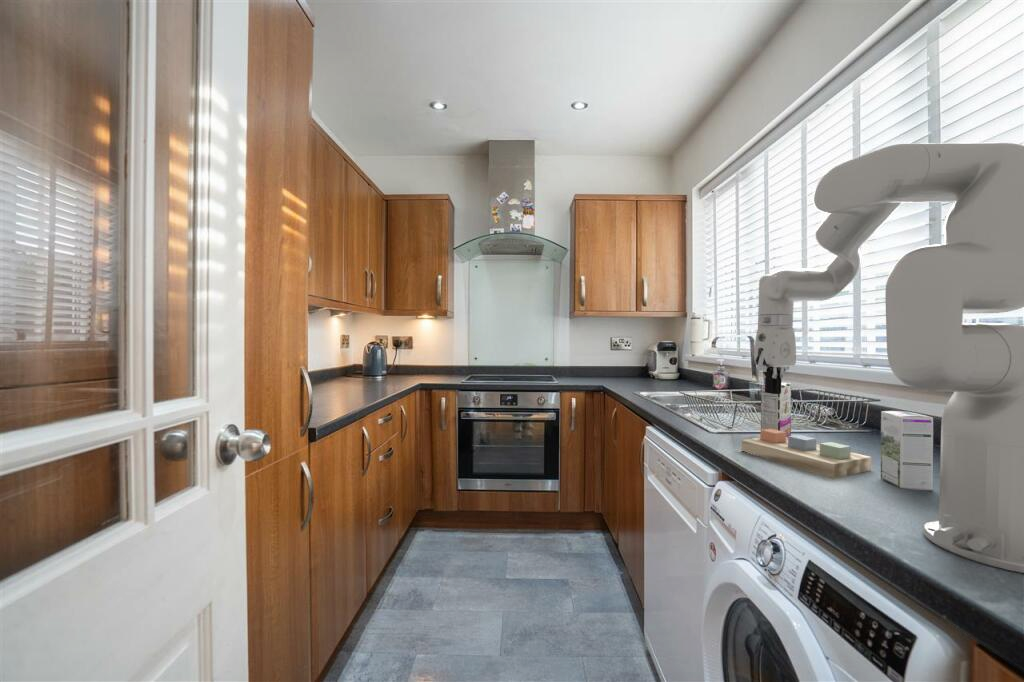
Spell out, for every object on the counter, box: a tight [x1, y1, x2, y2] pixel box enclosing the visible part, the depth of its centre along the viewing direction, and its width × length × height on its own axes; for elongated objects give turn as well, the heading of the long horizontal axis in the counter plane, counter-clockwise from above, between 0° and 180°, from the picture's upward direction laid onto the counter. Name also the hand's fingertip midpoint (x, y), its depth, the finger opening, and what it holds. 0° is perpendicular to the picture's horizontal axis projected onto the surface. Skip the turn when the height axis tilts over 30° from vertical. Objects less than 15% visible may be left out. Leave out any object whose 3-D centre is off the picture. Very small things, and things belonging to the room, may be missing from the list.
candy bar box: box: [760, 381, 792, 438], centre depth 115 cm, size 11×5×16 cm, turn 131°
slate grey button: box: [788, 434, 817, 451], centre depth 96 cm, size 4×4×3 cm
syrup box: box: [880, 410, 934, 491], centre depth 80 cm, size 6×6×14 cm
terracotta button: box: [759, 429, 786, 444], centre depth 102 cm, size 4×4×3 cm
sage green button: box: [819, 441, 852, 460], centre depth 89 cm, size 4×4×3 cm
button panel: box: [741, 437, 873, 479], centre depth 96 cm, size 14×21×3 cm, turn 23°
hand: (772, 393), depth 103 cm, fingers closed
